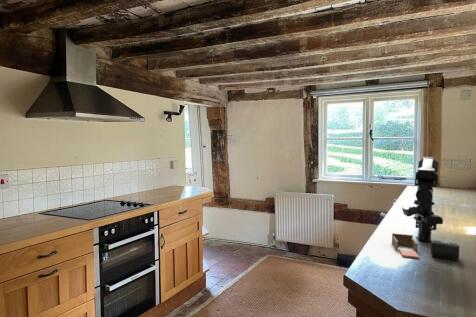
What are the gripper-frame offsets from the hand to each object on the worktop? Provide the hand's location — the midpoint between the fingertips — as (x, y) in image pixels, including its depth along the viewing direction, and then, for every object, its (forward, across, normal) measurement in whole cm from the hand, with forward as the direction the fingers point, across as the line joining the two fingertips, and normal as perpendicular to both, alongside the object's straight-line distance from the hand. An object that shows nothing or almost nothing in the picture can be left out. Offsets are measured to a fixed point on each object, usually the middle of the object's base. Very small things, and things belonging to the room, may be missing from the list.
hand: (422, 235), depth 140 cm
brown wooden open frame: (+10, -12, -2) cm, 16 cm away
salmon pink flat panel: (+9, -7, -3) cm, 12 cm away
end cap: (+10, -1, +10) cm, 14 cm away
